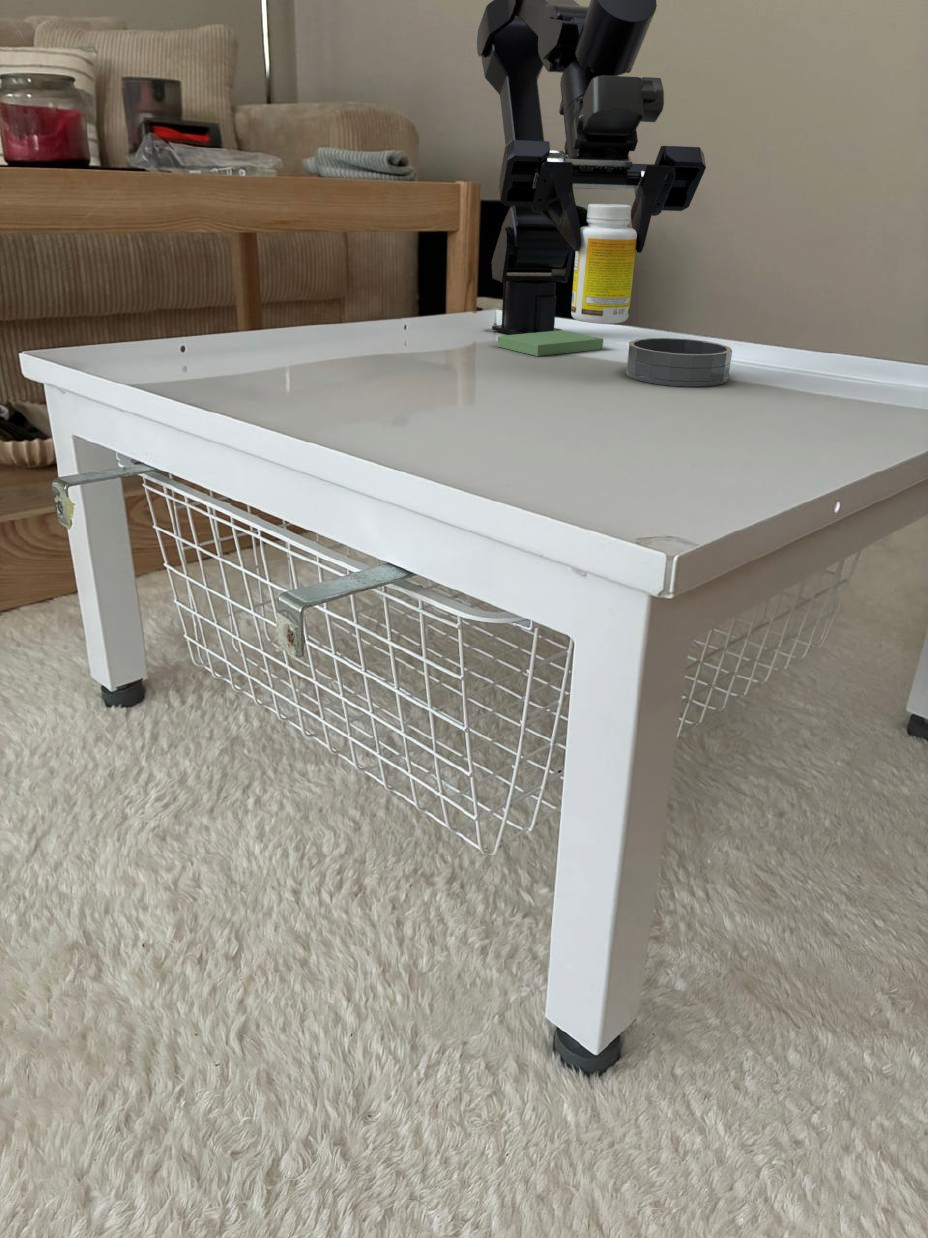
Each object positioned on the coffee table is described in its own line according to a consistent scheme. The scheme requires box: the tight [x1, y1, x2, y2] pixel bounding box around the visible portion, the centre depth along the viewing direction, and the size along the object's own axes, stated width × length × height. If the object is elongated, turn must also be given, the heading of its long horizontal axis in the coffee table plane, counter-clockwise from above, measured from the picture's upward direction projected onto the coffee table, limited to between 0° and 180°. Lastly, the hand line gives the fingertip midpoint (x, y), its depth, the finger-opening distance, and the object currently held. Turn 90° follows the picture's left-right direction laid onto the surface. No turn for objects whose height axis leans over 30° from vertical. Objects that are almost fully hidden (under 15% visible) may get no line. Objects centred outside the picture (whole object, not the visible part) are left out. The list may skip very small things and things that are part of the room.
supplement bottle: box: [570, 203, 637, 325], centre depth 89 cm, size 6×6×10 cm
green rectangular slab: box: [497, 329, 604, 357], centre depth 109 cm, size 7×10×1 cm
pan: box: [625, 337, 733, 388], centre depth 95 cm, size 10×10×3 cm
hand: (609, 248), depth 87 cm, fingers closed on supplement bottle, 5 cm apart
